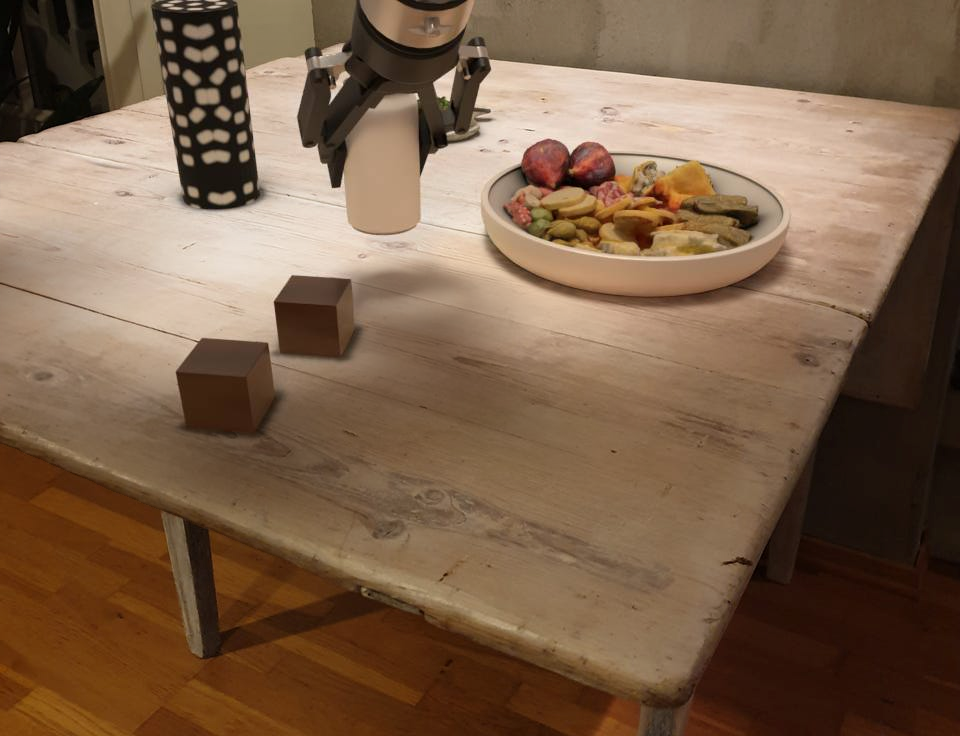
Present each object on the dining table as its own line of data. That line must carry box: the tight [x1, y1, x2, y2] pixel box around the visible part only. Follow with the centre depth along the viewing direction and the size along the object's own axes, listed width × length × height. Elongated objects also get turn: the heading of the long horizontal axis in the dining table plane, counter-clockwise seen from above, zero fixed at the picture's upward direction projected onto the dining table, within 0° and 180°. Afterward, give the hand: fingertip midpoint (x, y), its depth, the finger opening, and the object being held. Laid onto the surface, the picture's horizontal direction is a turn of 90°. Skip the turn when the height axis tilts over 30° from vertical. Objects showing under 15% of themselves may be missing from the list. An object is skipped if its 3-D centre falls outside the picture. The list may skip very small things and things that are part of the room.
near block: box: [175, 337, 276, 434], centre depth 69 cm, size 5×5×5 cm
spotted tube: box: [150, 0, 261, 211], centre depth 102 cm, size 8×8×20 cm
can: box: [342, 77, 422, 236], centre depth 82 cm, size 6×6×12 cm
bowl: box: [480, 138, 792, 298], centre depth 96 cm, size 30×30×8 cm
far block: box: [273, 274, 356, 359], centre depth 78 cm, size 5×5×5 cm
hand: (373, 169), depth 86 cm, fingers closed on can, 6 cm apart
